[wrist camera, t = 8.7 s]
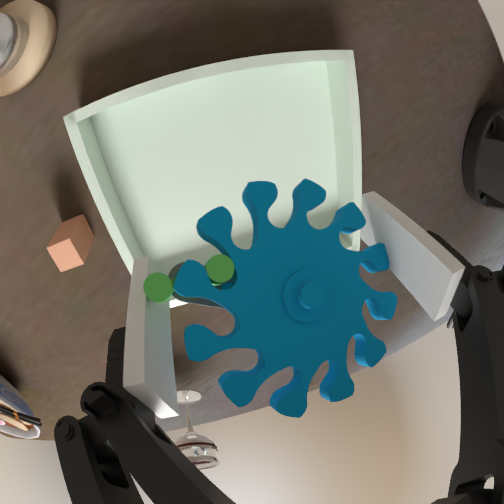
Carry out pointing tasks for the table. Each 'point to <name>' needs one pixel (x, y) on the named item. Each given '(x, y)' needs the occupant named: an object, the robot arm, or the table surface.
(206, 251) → the tray
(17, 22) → the crank
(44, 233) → the table surface
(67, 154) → the table surface
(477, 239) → the table surface
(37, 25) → the crank pedestal
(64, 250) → the post
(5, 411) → the ramen bowl
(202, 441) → the wineglass
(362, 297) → the gear
